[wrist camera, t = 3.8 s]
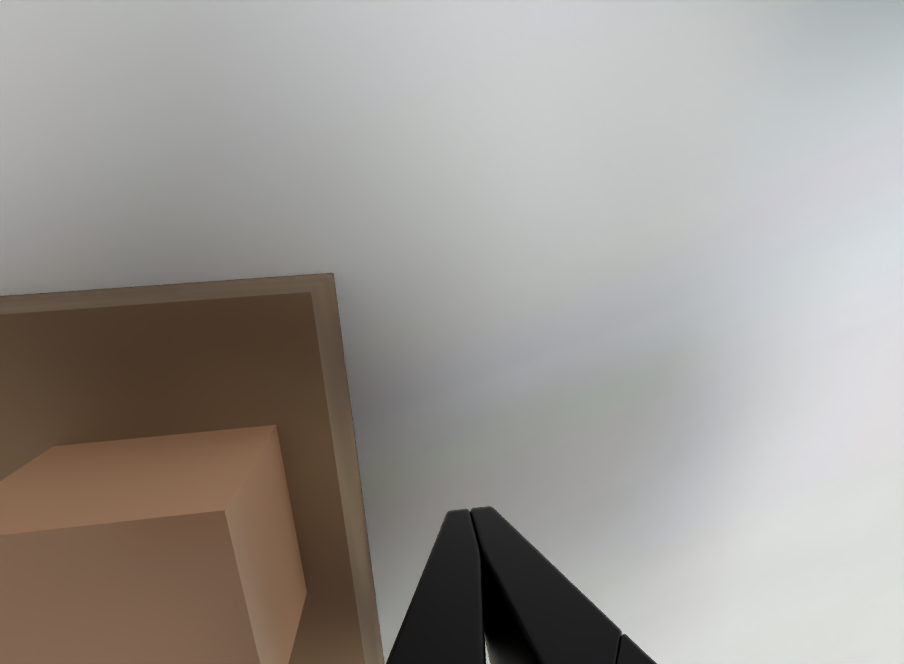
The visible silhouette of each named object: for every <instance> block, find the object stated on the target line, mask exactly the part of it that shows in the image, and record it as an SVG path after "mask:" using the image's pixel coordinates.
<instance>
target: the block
mask: <svg viewBox="0 0 904 664" xmlns="http://www.w3.org/2000/svg"><path fill="white" fill-rule="evenodd" d="M306 594H307V590H306V584H305V579H304V573H303V568H302V562H301V557H300V551H299V546H298V540H297V535H296V530H295V524H294V519H293V513H292V508H291V502H290V497H289V491H288V486H287V480H286V475H285V469H284V464H283V458H282V453H281V447H280V442H279V436H278V431H277V425H269V426H258V427H248V428H238V429H227V430H217V431H207V432H196V433H186V434H176V435H165V436H155V437H145V438H134V439H124V440H114V441H103V442H93V443H82V444H72V445H62V446H53V447H51V448H50V449H48V450H47V451H45V452H44V453H42V454H41V455H39V456H38V457H36V458H35V459H33V460H32V461H30V462H29V463H27V464H26V465H24V466H23V467H21V468H20V469H18V470H17V471H15V472H14V473H12V474H11V475H9V476H8V477H6V478H5V479H3V480H2V481H0V664H289V660H290V656H291V652H292V648H293V644H294V640H295V637H296V633H297V629H298V625H299V621H300V617H301V613H302V610H303V606H304V602H305V598H306Z"/></svg>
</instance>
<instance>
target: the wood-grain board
mask: <svg viewBox="0 0 904 664" xmlns="http://www.w3.org/2000/svg"><path fill="white" fill-rule="evenodd" d="M269 425H277V431H278V436H279V442H280V447H281V453H282V458H283V464H284V469H285V475H286V480H287V486H288V491H289V497H290V502H291V508H292V513H293V519H294V524H295V530H296V535H297V540H298V546H299V551H300V557H301V562H302V568H303V573H304V579H305V584H306V590H307V594H306V598H305V602H304V606H303V610H302V613H301V617H300V621H299V625H298V629H297V633H296V637H295V640H294V644H293V648H292V652H291V656H290V660H289V664H384V658H383V651H382V643H381V635H380V628H379V620H378V612H377V605H376V597H375V589H374V582H373V574H372V566H371V559H370V551H369V543H368V536H367V528H366V520H365V513H364V505H363V497H362V490H361V482H360V474H359V466H358V459H357V451H356V443H355V436H354V428H353V420H352V413H351V405H350V397H349V390H348V382H347V374H346V367H345V359H344V351H343V344H342V336H341V328H340V321H339V313H338V305H337V298H336V290H335V282H334V275H333V273H326V274H312V275H297V276H283V277H269V278H254V279H240V280H226V281H211V282H197V283H183V284H168V285H154V286H140V287H125V288H111V289H97V290H82V291H68V292H54V293H39V294H25V295H11V296H0V481H2V480H3V479H5V478H6V477H8V476H9V475H11V474H12V473H14V472H15V471H17V470H18V469H20V468H21V467H23V466H24V465H26V464H27V463H29V462H30V461H32V460H33V459H35V458H36V457H38V456H39V455H41V454H42V453H44V452H45V451H47V450H48V449H50V448H51V447H53V446H62V445H72V444H82V443H93V442H103V441H114V440H124V439H134V438H145V437H155V436H165V435H176V434H186V433H196V432H207V431H217V430H227V429H238V428H248V427H258V426H269Z"/></svg>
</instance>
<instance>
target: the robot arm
mask: <svg viewBox="0 0 904 664" xmlns="http://www.w3.org/2000/svg"><path fill="white" fill-rule="evenodd" d="M485 641H486V646H487V650H488V654H489V659H490V662H491V664H657V663H656V662H655V661H654V660H652V659H651V658H650V657H649V656H648V655H647V654H646V653H645V652H644V651H643V650H642V649H641V648H640V647H638V646H637V645H636V644H635V643H634V642H633V641H632V640H631V639H630V638H629V637H628V636H627V635H626V634H623V635H622V631H621V630H620V629H619V628H618V627H617V626H616V625H615V624H614V623H613V622H612V621H611V620H610V619H609V618H608V617H607V616H606V615H605V614H604V613H603V612H602V611H601V610H599V609H598V608H597V607H596V606H595V605H594V604H593V603H592V602H591V601H590V600H589V599H588V598H587V597H586V596H585V595H584V594H583V593H582V592H581V591H580V590H579V589H578V588H576V587H575V586H574V585H573V584H572V583H571V582H570V581H569V580H568V579H567V578H566V577H565V576H564V575H563V574H562V573H561V572H560V571H559V570H558V569H557V568H556V567H555V566H553V565H552V564H551V563H550V562H549V561H548V560H547V559H546V558H545V557H544V556H543V555H542V554H541V553H540V552H539V551H538V550H537V549H536V548H535V547H534V546H533V545H531V544H530V543H529V542H528V541H527V540H526V539H525V538H524V537H523V536H522V535H521V534H520V533H519V532H518V531H517V530H516V529H515V528H514V527H513V526H512V525H511V524H510V523H508V522H507V521H506V520H505V519H504V518H503V517H502V516H501V515H500V514H499V513H498V512H497V511H496V510H495V509H494V508H493V507H490V506H487V507H478V508H472V509H471V511H469V510H468V509H460V510H451V511H448V512H447V514H446V516H445V519H444V521H443V524H442V526H441V529H440V531H439V534H438V536H437V538H436V541H435V543H434V546H433V548H432V551H431V553H430V556H429V558H428V561H427V563H426V566H425V568H424V571H423V573H422V576H421V578H420V581H419V583H418V586H417V588H416V591H415V593H414V595H413V598H412V600H411V603H410V605H409V608H408V610H407V613H406V615H405V618H404V620H403V623H402V625H401V628H400V630H399V633H398V635H397V638H396V640H395V643H394V645H393V648H392V650H391V652H390V655H389V657H388V660H387V662H386V664H486V653H485Z"/></svg>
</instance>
